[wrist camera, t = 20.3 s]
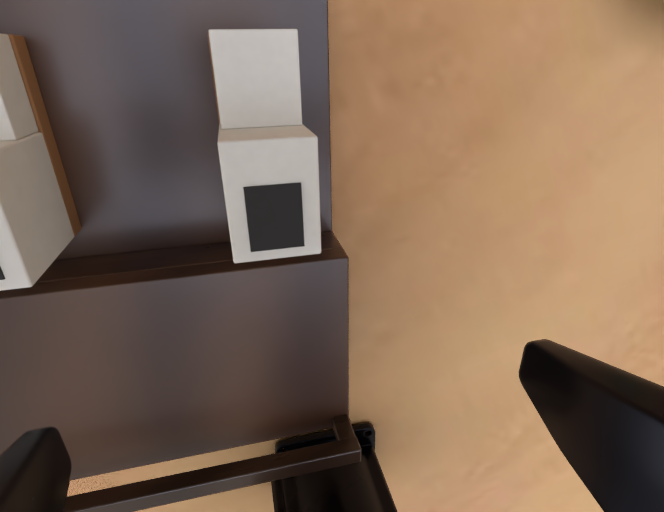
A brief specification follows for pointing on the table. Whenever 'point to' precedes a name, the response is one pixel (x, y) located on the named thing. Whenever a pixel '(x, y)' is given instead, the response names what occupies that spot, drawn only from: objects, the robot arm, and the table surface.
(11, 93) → the white stacked box shape
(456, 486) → the table surface
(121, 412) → the shoe rack
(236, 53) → the white l-shaped block
